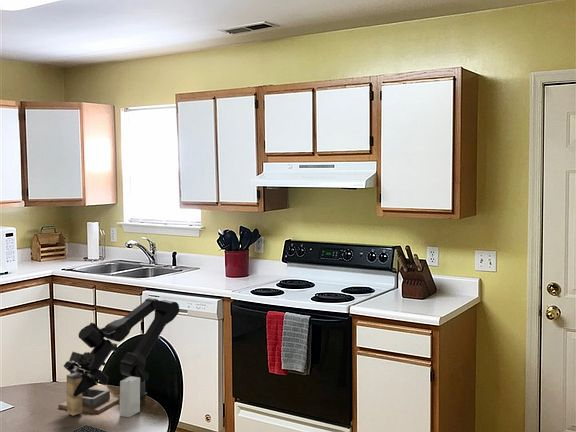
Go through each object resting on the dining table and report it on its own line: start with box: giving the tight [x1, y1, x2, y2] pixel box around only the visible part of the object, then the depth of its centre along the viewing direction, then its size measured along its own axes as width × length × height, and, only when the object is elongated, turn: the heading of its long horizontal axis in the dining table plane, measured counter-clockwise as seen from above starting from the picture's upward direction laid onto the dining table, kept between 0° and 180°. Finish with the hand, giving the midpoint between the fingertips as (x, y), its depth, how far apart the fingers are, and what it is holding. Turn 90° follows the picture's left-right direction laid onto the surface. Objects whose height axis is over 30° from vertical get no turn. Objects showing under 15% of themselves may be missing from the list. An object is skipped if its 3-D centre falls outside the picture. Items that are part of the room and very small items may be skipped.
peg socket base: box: [58, 387, 120, 415], centre depth 229 cm, size 16×13×4 cm
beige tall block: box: [66, 373, 83, 416], centre depth 219 cm, size 4×4×13 cm
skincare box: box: [119, 376, 141, 418], centre depth 221 cm, size 6×4×12 cm
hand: (70, 394), depth 218 cm, fingers closed on beige tall block, 4 cm apart
